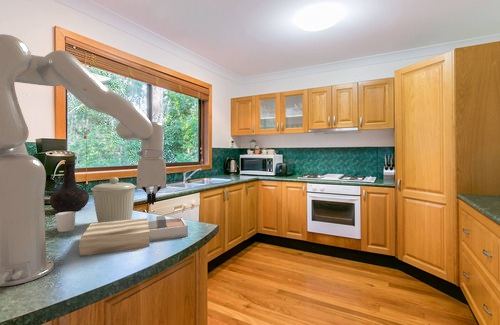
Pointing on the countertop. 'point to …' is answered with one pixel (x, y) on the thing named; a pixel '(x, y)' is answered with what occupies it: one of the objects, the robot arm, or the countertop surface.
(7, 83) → the robot arm
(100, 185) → the canister
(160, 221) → the slate tile
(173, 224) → the terracotta tile
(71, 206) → the dark brown vase
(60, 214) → the shot glass
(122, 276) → the countertop surface
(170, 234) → the bin
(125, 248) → the board
